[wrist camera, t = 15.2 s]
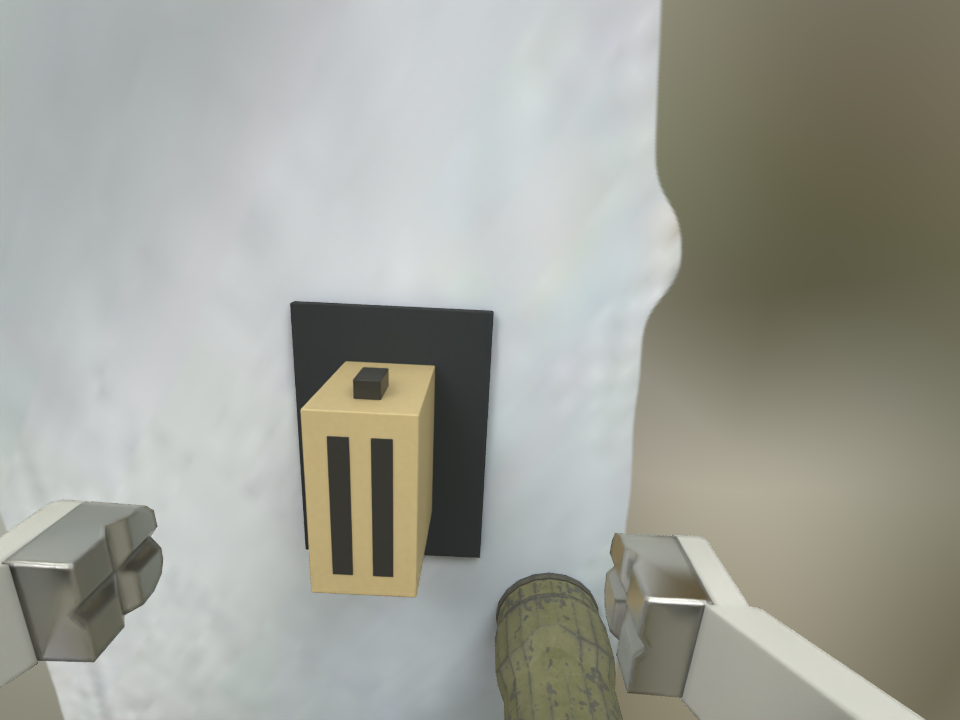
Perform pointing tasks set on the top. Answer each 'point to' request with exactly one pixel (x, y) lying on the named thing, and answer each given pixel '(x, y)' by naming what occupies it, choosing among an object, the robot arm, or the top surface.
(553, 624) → the thermos
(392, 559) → the toaster
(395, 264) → the top surface
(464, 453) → the mat
